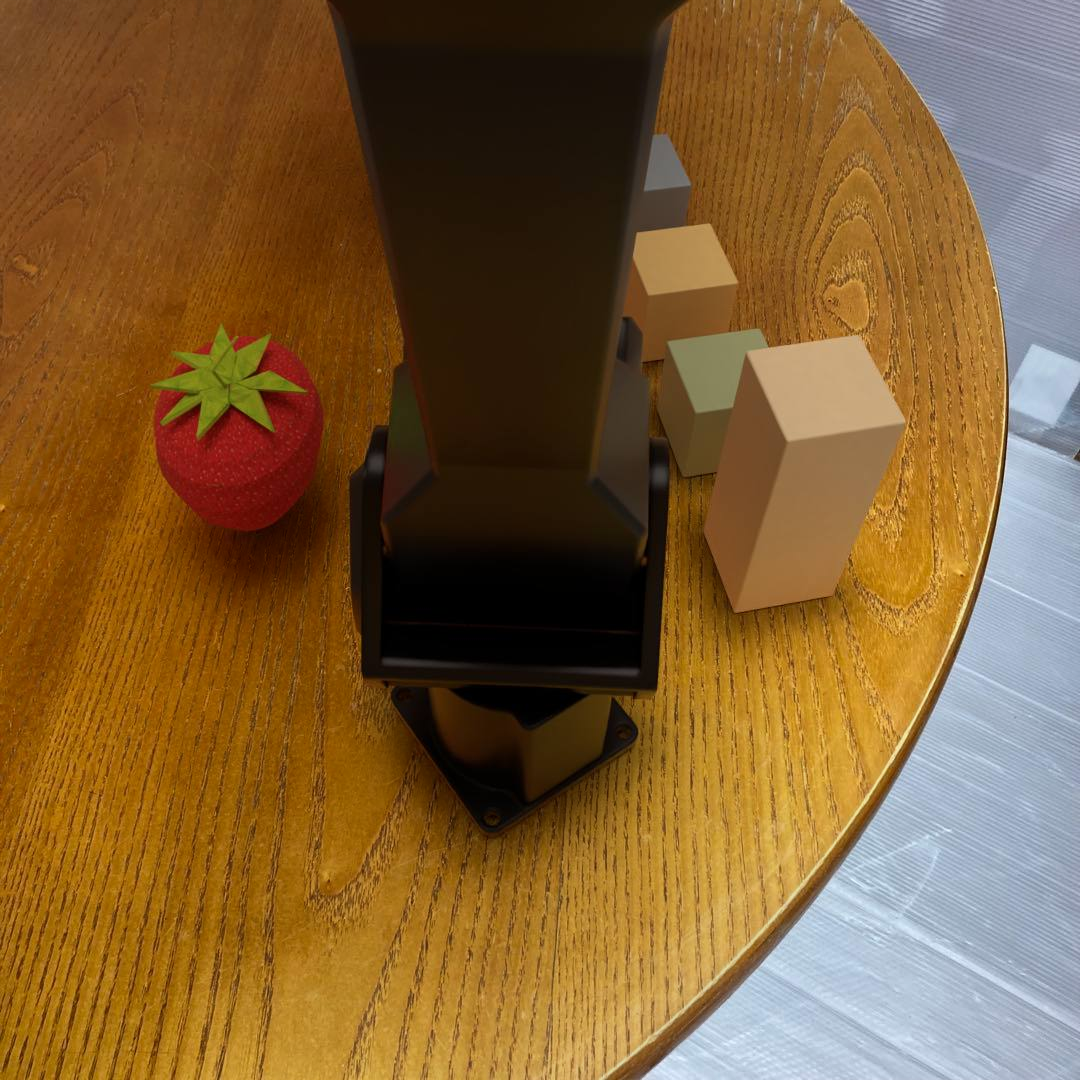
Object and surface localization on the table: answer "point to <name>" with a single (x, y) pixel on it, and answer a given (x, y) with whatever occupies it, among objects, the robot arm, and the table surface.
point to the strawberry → (238, 430)
